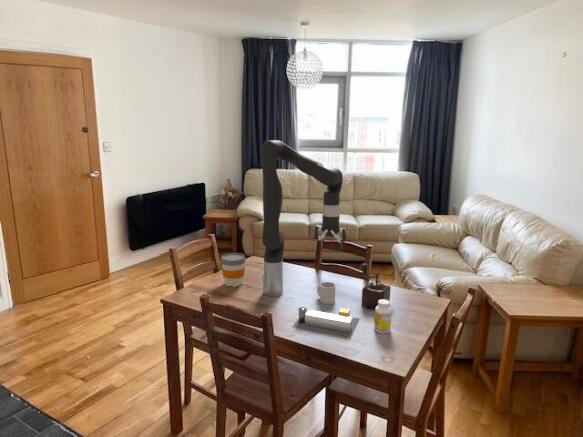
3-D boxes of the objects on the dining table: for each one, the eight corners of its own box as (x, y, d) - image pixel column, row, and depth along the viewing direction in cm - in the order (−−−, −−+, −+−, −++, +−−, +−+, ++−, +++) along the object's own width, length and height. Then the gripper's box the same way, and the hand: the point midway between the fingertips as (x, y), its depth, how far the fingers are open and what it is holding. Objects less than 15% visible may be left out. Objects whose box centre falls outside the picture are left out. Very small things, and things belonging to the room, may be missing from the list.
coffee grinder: (390, 304, 201) (393, 268, 197) (382, 312, 192) (384, 275, 188) (360, 296, 210) (362, 261, 205) (350, 304, 201) (352, 268, 196)
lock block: (338, 324, 180) (338, 311, 179) (340, 320, 184) (341, 307, 182) (347, 326, 179) (347, 313, 177) (349, 321, 182) (350, 309, 181)
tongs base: (296, 323, 181) (297, 310, 179) (300, 319, 184) (300, 306, 183) (348, 333, 173) (349, 319, 171) (351, 328, 176) (351, 315, 175)
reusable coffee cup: (216, 285, 222) (215, 257, 218) (232, 277, 232) (231, 251, 229) (235, 290, 216) (234, 262, 212) (250, 282, 226) (250, 255, 222)
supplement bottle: (372, 326, 180) (373, 298, 177) (387, 325, 180) (389, 297, 177) (376, 334, 173) (378, 305, 170) (392, 333, 174) (394, 304, 171)
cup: (327, 307, 198) (328, 289, 196) (312, 300, 205) (312, 282, 203) (338, 302, 202) (338, 285, 200) (322, 296, 210) (323, 279, 207)
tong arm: (306, 321, 182) (307, 311, 181) (308, 319, 184) (308, 309, 183) (350, 329, 175) (350, 319, 174) (351, 327, 177) (352, 317, 176)
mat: (291, 328, 178) (291, 326, 178) (305, 310, 194) (305, 309, 194) (350, 339, 169) (350, 338, 169) (360, 319, 185) (360, 318, 185)
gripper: (348, 213, 188) (347, 248, 192) (318, 211, 193) (317, 245, 197) (344, 217, 181) (343, 253, 185) (313, 214, 186) (312, 249, 190)
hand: (330, 249), depth 191 cm, fingers open, 8 cm apart
